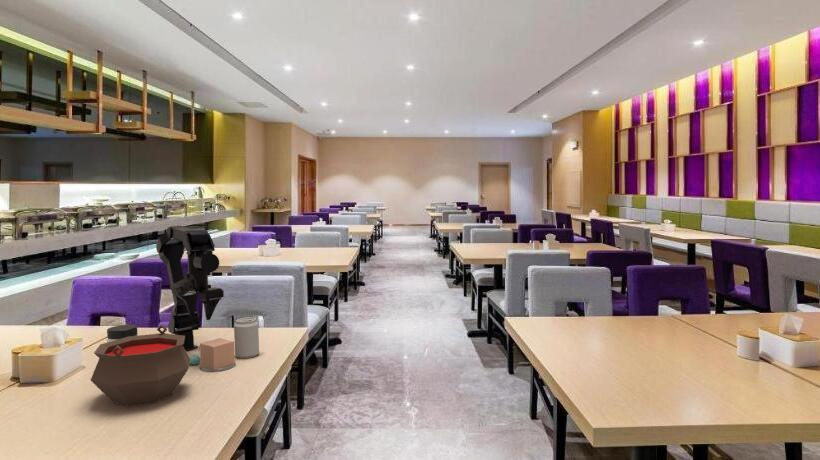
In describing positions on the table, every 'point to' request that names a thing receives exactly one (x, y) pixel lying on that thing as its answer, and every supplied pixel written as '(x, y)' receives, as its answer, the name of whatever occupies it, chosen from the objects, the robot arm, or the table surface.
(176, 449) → the table surface
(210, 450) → the table surface
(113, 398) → the brown cauldron
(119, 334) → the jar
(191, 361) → the marble teal
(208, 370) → the coaster
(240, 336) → the can
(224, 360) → the peach beveled cube
